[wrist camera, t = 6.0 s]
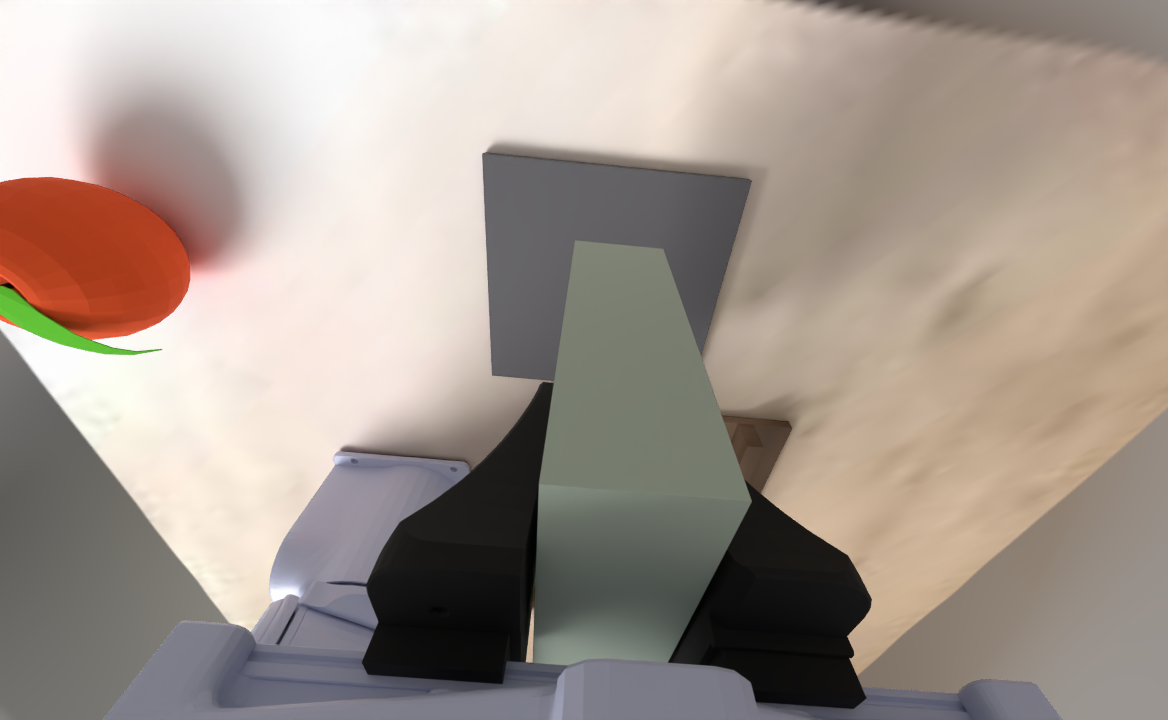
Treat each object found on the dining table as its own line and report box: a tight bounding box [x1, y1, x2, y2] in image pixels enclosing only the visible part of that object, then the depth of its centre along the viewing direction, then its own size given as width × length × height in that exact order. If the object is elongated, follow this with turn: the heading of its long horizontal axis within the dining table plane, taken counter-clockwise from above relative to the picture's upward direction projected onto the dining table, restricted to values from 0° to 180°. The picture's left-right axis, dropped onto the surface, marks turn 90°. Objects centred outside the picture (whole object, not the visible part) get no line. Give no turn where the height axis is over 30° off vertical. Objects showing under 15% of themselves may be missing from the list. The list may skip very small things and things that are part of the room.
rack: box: [722, 416, 792, 493], centre depth 29 cm, size 16×14×3 cm
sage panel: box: [533, 240, 752, 665], centre depth 12 cm, size 3×9×10 cm, turn 175°
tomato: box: [0, 177, 190, 355], centre depth 18 cm, size 8×7×7 cm
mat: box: [482, 153, 752, 381], centre depth 22 cm, size 12×12×1 cm
